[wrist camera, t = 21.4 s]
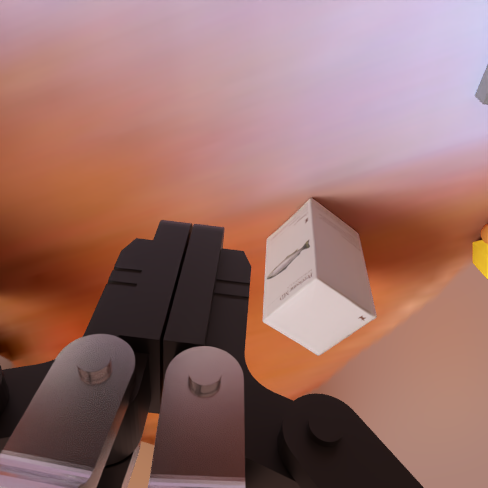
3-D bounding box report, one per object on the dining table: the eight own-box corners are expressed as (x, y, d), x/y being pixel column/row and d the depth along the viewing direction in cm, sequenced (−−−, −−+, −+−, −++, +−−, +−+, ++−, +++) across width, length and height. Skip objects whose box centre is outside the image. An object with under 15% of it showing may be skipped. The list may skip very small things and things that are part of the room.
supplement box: (310, 194, 47) (318, 276, 37) (360, 233, 49) (380, 319, 39) (264, 237, 51) (259, 322, 41) (312, 271, 53) (319, 359, 43)
